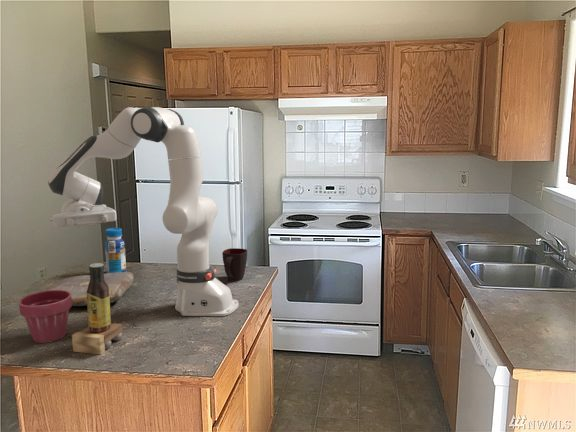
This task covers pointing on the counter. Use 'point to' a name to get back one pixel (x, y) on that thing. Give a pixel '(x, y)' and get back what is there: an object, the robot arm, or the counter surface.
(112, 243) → the beverage bottle
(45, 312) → the plant pot
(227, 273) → the cup
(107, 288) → the sauce bottle
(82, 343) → the roller board
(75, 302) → the stone slab
